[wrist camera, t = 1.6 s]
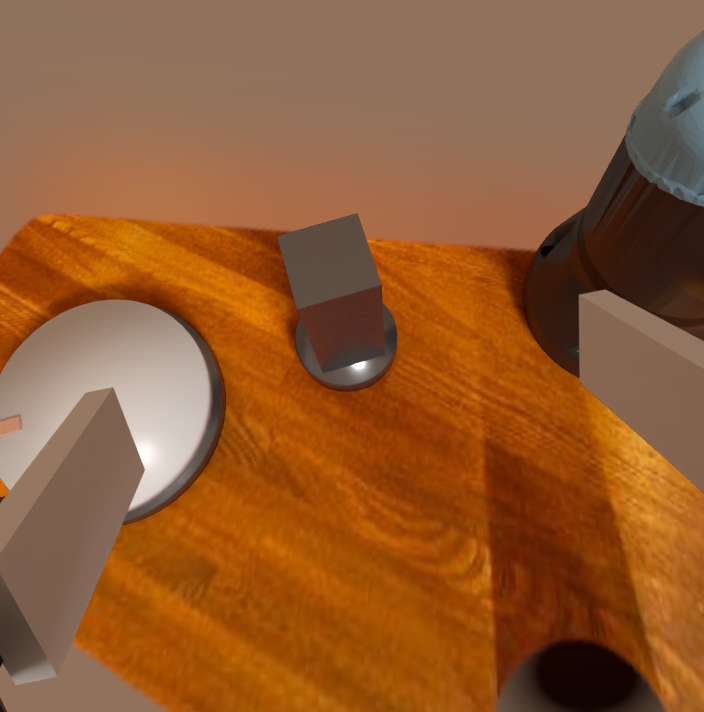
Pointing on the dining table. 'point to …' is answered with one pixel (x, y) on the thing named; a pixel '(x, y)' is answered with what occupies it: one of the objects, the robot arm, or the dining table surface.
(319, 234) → the square post on disc
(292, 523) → the dining table surface
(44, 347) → the turntable platter
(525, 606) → the dining table surface
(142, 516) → the base
